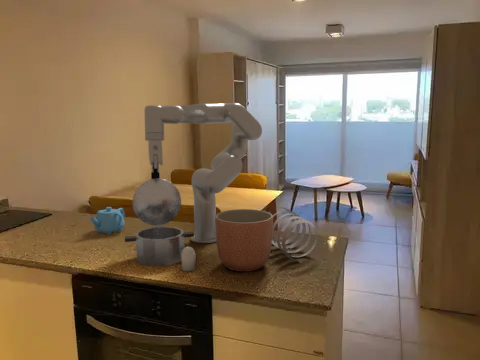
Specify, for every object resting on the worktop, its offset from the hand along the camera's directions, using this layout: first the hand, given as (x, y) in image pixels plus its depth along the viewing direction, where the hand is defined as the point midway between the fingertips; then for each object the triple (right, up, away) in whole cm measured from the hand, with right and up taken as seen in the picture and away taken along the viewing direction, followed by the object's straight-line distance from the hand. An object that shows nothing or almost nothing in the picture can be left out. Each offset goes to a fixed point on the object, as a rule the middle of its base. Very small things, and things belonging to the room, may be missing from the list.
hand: (155, 182), depth 172 cm
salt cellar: (+16, -31, -18) cm, 39 cm away
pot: (+3, -29, -7) cm, 30 cm away
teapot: (-28, -24, +29) cm, 47 cm away
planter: (+36, -31, -16) cm, 50 cm away
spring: (+54, -28, +1) cm, 61 cm away
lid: (+1, -8, -1) cm, 8 cm away
